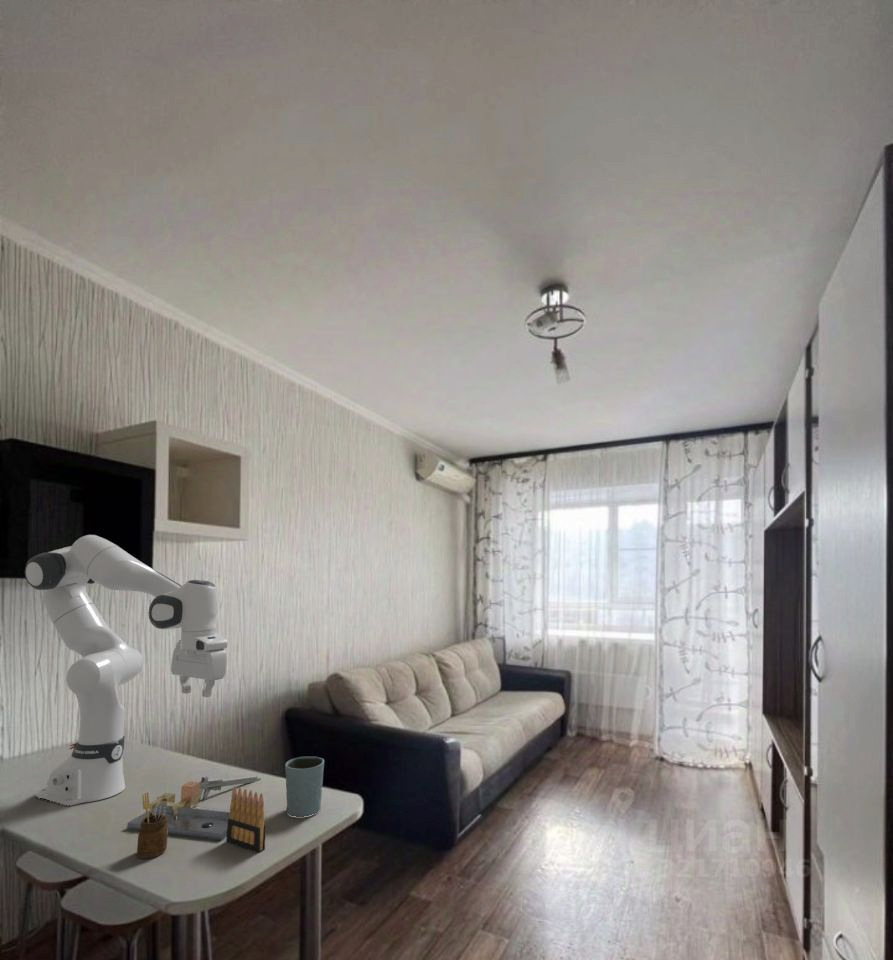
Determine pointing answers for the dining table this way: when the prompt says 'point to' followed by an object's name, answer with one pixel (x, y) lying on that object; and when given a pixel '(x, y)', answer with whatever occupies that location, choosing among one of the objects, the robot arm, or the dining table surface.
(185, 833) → the bolt plate
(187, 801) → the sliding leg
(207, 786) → the caliper
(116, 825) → the dining table surface
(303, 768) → the grey-teal cup
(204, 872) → the dining table surface
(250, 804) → the ammunition clip
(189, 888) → the dining table surface
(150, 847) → the utensil holder
